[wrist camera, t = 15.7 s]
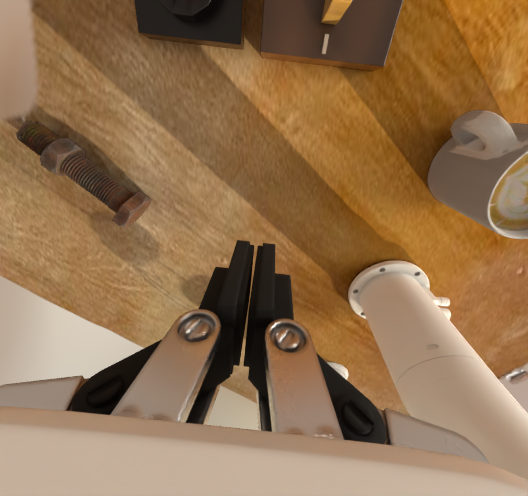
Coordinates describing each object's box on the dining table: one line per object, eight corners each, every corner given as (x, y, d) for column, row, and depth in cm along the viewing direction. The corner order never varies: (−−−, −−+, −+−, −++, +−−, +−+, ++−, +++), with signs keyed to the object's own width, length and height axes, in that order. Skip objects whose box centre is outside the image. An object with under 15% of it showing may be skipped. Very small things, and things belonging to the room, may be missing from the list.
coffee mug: (523, 175, 30) (625, 202, 21) (441, 218, 33) (499, 256, 24) (501, 70, 24) (623, 48, 16) (406, 133, 28) (464, 142, 19)
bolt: (56, 123, 31) (154, 201, 35) (28, 151, 30) (131, 227, 35) (25, 102, 25) (146, 198, 29) (-9, 136, 25) (119, 228, 29)
